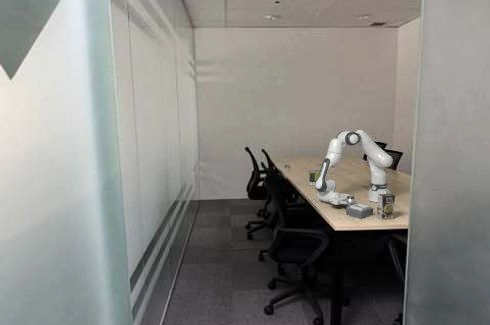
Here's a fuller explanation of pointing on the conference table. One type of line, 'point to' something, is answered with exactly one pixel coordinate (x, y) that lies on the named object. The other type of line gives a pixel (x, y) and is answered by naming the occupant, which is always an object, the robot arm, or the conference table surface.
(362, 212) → the grey white square holder
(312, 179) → the tea box
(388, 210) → the coffee box
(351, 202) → the glass jar
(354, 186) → the conference table surface
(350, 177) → the conference table surface
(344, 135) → the robot arm
